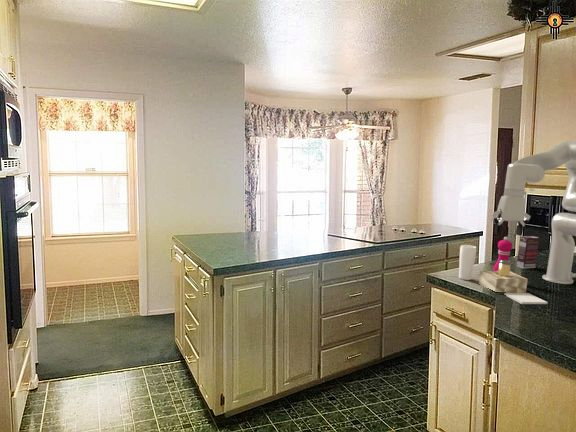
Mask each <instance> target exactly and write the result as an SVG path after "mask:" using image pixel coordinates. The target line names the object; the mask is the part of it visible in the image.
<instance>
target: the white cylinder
mask: <svg viewBox="0 0 576 432" xmlns="http://www.w3.org/2000/svg"><path fill="white" fill-rule="evenodd" d="M476 256H477V246H476V245H475V246H474V245H471V244H460V247H459V263H458V264H459V265H458V266H459V267H458V268H459V269H458V278H459V279H460V280H463V281H471V279H472V276H473V270H474V267H475V262H476Z"/></svg>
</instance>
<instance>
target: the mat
mask: <svg viewBox="0 0 576 432" xmlns="http://www.w3.org/2000/svg"><path fill="white" fill-rule="evenodd" d="M503 294H504V296H505V295H506V296H505V297H507V298H510V299H511V300H513V301H515V302H517V303H519V304H521V305H548V303H549V302H548V301H546V300H544V299H542V298H539V297H537V296H536V295H533V294H531V293H529V292H526V293H503Z"/></svg>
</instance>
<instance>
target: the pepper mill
mask: <svg viewBox="0 0 576 432" xmlns="http://www.w3.org/2000/svg"><path fill="white" fill-rule="evenodd" d="M512 243H513V242H511V241H510V240H509V237H508V236H504V237H503V239H501V240H499V241H498V242H497V248H498V250H497V254H498V258H497V261H496V262H495V264H494V266H493V267H492V271H498V269H499V261H500V260H508V261H509V257H510V255H511V250H512V249H513V244H512ZM510 272H512V270H511V269H510Z"/></svg>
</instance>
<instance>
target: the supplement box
mask: <svg viewBox="0 0 576 432" xmlns="http://www.w3.org/2000/svg"><path fill="white" fill-rule="evenodd" d="M539 245H540V237H538V236H534V235H531V236H530V235H527V236H526V235H524V236H519V245H518V251H517V252H518V253H517V259H516V260H517V261H516V267H518V268H520V269H535V268H536V267H537V262H538V260H537V259H538V252H539V251H538V250H539Z"/></svg>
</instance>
